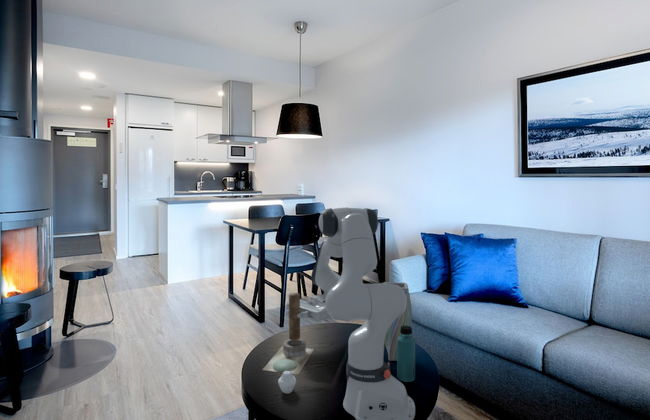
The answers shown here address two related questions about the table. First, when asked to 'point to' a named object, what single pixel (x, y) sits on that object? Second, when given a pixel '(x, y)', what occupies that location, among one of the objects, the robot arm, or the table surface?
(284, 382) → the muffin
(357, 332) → the robot arm
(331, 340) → the table surface
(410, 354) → the beverage bottle
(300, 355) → the birch board
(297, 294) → the walnut peg
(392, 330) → the vase
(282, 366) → the sage pad
